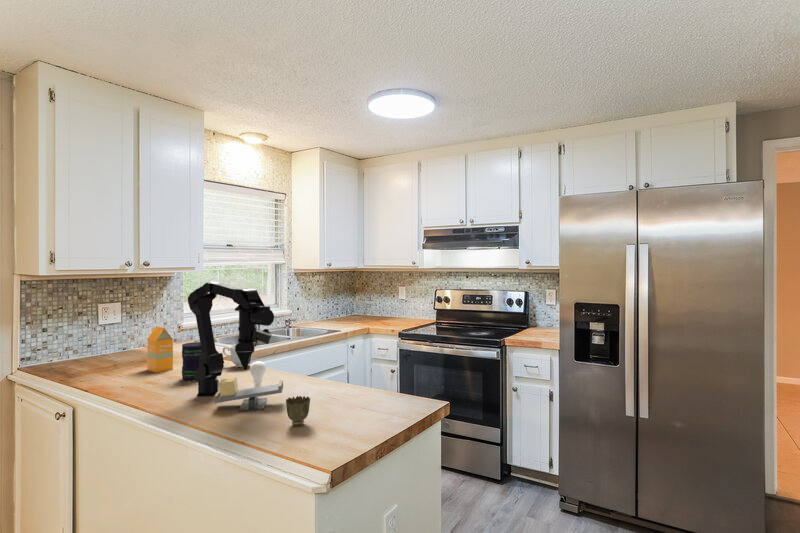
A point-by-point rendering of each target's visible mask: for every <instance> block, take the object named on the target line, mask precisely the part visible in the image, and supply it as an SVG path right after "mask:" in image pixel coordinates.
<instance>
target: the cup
mask: <svg viewBox="0 0 800 533" xmlns="http://www.w3.org/2000/svg"><path fill="white" fill-rule="evenodd" d="M310 403H311V397H309V396H306V395H303V397H302V396H301V395H299V396H298V395H296V397H294V396H292V397H288V398H286V399H285V405H286V406H285V407H286V414H287V417H288V419H289V420H291V424H292V426H294V427H299V426H303V425H304V424H305V421H304V420H306V419H307V418H308V416H309V412H310Z"/></svg>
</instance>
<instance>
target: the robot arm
mask: <svg viewBox="0 0 800 533" xmlns="http://www.w3.org/2000/svg"><path fill="white" fill-rule="evenodd" d="M217 295H218V296H221V297H225V298H227V299H231V300H232V301H233V303H234V304H237V305H238V306H236V307H235V308H234V311H236V312H238V327H237V330H238V339H237V343H236V346H235V352H236V354H237V355H238V358H239V360H240V362H241V364H242V366H243V368H242V369H243V370H244V371H247V370H248V368H249V365H250V364H251V361H252V359H251V355H252V356H253V354H254V352H255V349H256V347H257V346H258V342H262V343H264V344H266V345H269V344H270V341H271V338H272V336H273V335H272V333H270V330H269V329H268V328H264V329H263V330H261V329H260V330H259V329H258V326H268V327H270V326H271V325H273V322H274V320H275V314H274V312H273V310H271V306H270V305H267V306H265V304H264V301H263V300H262V298H261V296H260V294H259V292H258V290H257V289H256V288H239V287H235V286H232V285H228V284H224V283H221V282H218V281H207V282H205V283H204V284H203V285H202V286H200V287H198V288H196V289H195V290H193V291H192V292H190V293H189V296H188V297H187V303H188V306H189V310H190V311H191V312H192V313H193V314H194V316H195V319H196V320H195V321H196V325H197V326H196V327H197V331H198V337H199V342H200V344H201V350H202V354H201V356H200V359H199V367H198V369H197V370H196V371H195V372H194V374H193V375H194V379H197V380H198V381H197V382H198V383H197V386H198V387H197V394H196V396H197V397H203V396H215V394H216V393H217V392H218V390H219V382H220V380H219V379H218V377H220V376H222V373H223V370H224V368H225V367H224V366H225V361H224V360H225V359H224V354H223V352H220V353H219V351H218V350H217V349H216V343H215V337H214V332H213V325H212V320H211V311H212V308H213V301H214V300H215V299H216V298H217ZM257 325H258V326H257ZM250 360H251V361H250Z"/></svg>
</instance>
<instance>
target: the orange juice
mask: <svg viewBox="0 0 800 533" xmlns="http://www.w3.org/2000/svg"><path fill="white" fill-rule="evenodd" d="M146 341H147V342H146V343H147V347H146V348H147V349H146V350H147V351H146V353H147V354H146V355H147V358H146V359H147V371H150V372H153V373H161V372H165V371H172V370H173V369H174V367H173V366H174V346H173V345H174V339H173V337H172V336H171V334H170V333H169V332H168V331H167V329H166V328H165V327H162V326H155V327H154V329H153V330H152V331H151V333H150V334H149V336H148V338H147V340H146Z"/></svg>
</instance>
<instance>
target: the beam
mask: <svg viewBox="0 0 800 533" xmlns="http://www.w3.org/2000/svg"><path fill="white" fill-rule="evenodd" d="M283 389H284V380H283V379H281V380H280V379H279V382H278V383H274V384H269V385H263V386H262V385H261V387H249V388H244V389H243V388H242V389H238V392H237V394H236V395H234V396H228V397H221V398H220V390H218V392H217V393H216V394H215V395H213V398H214V404H219V403H220V404H221V403H226V402H230V401H231V402H232V401H237V400H238V401H239V400H244V399H249V398H251V397H258V398H259V397H263V396H264V397H265V396H270V395H275V394H282V393H283Z"/></svg>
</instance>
